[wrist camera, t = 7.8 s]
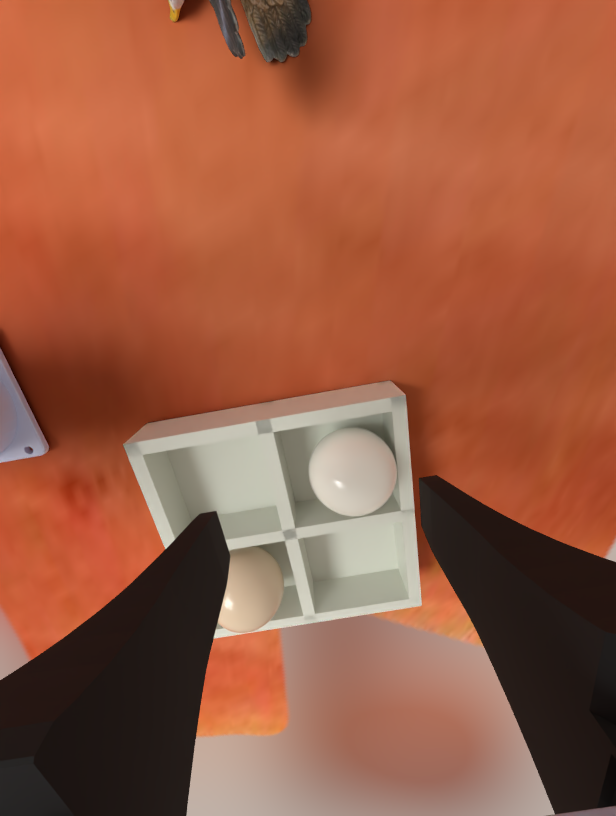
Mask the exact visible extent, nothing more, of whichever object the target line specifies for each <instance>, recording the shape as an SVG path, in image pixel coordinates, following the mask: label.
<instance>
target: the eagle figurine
mask: <svg viewBox="0 0 616 816" xmlns="http://www.w3.org/2000/svg"><path fill="white" fill-rule="evenodd" d="M209 1H210V3H211V5H212V6H213V8H214V10H215V13H216V16H217V19H218V22H219V25H220V28H221V31H222V34H223V36H224V38H225V41H226V43H227V45H228V47H229V49H230V51H231V53H232V54H233V55H234V56H235V57H239V58H241V59H242V58H243V57H244V56H245V50H244V46H243V43H242V40H241V37H240V35H239V33H238V31H239V26H238V22H237V18H236V15H235V13H234V11H233V8H232V6H231V0H209ZM168 2H169V5H170V19H171V20H172V21H173V22H176V21H177V20H178V18H179V13H180V9H181V6H182V5H183V3H184V0H168ZM241 3H242V5H243V8H244V11H245V13H246V16H247V19H248V22H249V26H250V28H251V30H252V32H253V34H254V37H255V40H256V43H257V45H258V48H259V50H260V51H261V53H262V55H263V57H264V59H265V60H266V62H271V61H272V60H273V58H275V59H277V60H278V61H279V62H284V61H285V59H286V57H287V54H288V55H290V56H291V57H297V56H298V55H299V50H300V49H299V48H300V47H301V46H305V44H306V42H307V32H306V25H307V24H309V23H310V21H311V11H310V7H309V4H308V2H307V0H241Z"/></svg>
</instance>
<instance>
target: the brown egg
mask: <svg viewBox="0 0 616 816" xmlns="http://www.w3.org/2000/svg"><path fill="white" fill-rule="evenodd" d="M229 553H230V565H229V573H228V581H227V587H226V591H225V595H224V599H223V603H222V607H221V611H220V615H219V619H218V624H219V625H221V626H222V627H223V628H225V629H227V630H229V631H232V632H236V633H247V632H252V631H255V630H257V629H259V628H261V627H262V626H264V625H265V624H267V623H268V622H269V621H270V620H271V619H272V618H273V616H274V615H275V613H276V612H277V610H278V608H279V606H280V604H281V601H282V598H283V593H284V578H283V573H282V570H281V567H280V565H279V563H278V562H277V560H276V559H275V558H274V557H273V556H272V555H271V554H270V553H269V552H268V551H266V550H264V549H262V548H260V547H256V546H251V547H245V548H239V549H233V550H230V551H229Z"/></svg>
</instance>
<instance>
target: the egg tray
mask: <svg viewBox="0 0 616 816" xmlns="http://www.w3.org/2000/svg"><path fill="white" fill-rule="evenodd" d="M345 427H358V428H363V429H366V430H369V431H371V432H373V433H375V434H376V435H378V436H379V437H380V438H381V439H383V440H384V441H385V443H386V444H387V445H388V446H389V448H390V449H391V451H392V453H393V455H394V458H395V461H396V467H397V479H396V484H395V487H394V490H393V492H392V494H391V496H390V498H389V499H388V500H387V501H386V503H385V504H384V505H382V506H381V507H380V508H379V509H377V510H376V511H374V512H372V513H369V514H366V515H362V516H346V515H341V514H338V513H336V512H334V511H332V510H330V509H329V508H327V507H326V506H325V505H324V504H323V503H322V502H321V501H320V500H319V499H318V498H317V496H316V495H315V493H314V491H313V489H312V487H311V484H310V480H309V461H310V458H311V455H312V452H313V450H314V448H315V447H316V445H317V444H318V443H319V441H320V440H321V439H322V438H324V437H325V436H326V435H327V434H329V433H331V432H333V431H335V430H338V429H341V428H345ZM123 446H124V449H125V451H126V453H127V456H128V458H129V461H130V463H131V466H132V468H133V471H134V473H135V476H136V478H137V480H138V483H139V485H140V488H141V490H142V493H143V495H144V498H145V500H146V502H147V505H148V507H149V510H150V512H151V515H152V517H153V520H154V522H155V525H156V527H157V529H158V532H159V534H160V537H161V539H162V542H163V544H164V547H165V549H166V548H167V547H168V546H169V545H170V544H171V543H172V542H173V541H174V540H175V539H176V538H177V537H178V536H179V535H180V533H181V532H182V531H183V530H184V529H185V528H186V527H187V526H188V525H189V524H190V523H191V522H192V521H193V520H194V519H195V518H196V517H197V516H198V515H199V514H200V513H206V512H212V511H217V514H218V517H219V521H220V524H221V527H222V530H223V534H224V537H225V540H226V543H227V546H228V550H229V551H230V550H233V549H239V548H245V547H251V546H256V547H260V548H262V549H264V550H266V551H268V552H269V553H270V554H271V555H272V556H273V557H274V558H275V559H276V560H277V562H278V563H279V565H280V567H281V570H282V573H283V578H284V593H283V598H282V601H281V604H280V606H279V608H278V610H277V612H276V613H275V615H274V616H273V618H272V619H271V620H270V621H269V622H268V623H267V624H265V625H264V626H262V627H261V628H259V629H257V630H255V631H252V632H258V631H264V630H271V629H277V628H283V627H290V626H296V625H302V624H309V623H315V622H321V621H328V620H334V619H340V618H346V617H353V616H359V615H366V614H372V613H379V612H385V611H391V610H398V609H404V608H410V607H417V606H422V602H421V589H420V576H419V563H418V549H417V536H416V523H415V510H414V497H413V483H412V470H411V457H410V444H409V430H408V417H407V404H406V395H405V394H404V393H403V392H402V391H401V390H400V389H399V388H398V387H397V386H396V385H395V384H394V383H393V382H392V381H391V380H389V381H384V382H378V383H372V384H367V385H361V386H355V387H350V388H344V389H338V390H333V391H327V392H321V393H316V394H310V395H304V396H299V397H293V398H287V399H282V400H276V401H270V402H265V403H259V404H253V405H248V406H242V407H236V408H231V409H225V410H219V411H214V412H208V413H202V414H197V415H191V416H185V417H180V418H174V419H168V420H163V421H157V422H151V423H146V424H145V425H144V426H143V427H142V428H141V429H140V430H139V431H137V432H136V433H135V434H134V435H133V436H132V437H131V438H130V439H128V440H127V441H126V442H125V443H124V444H123ZM252 632H247V633H252ZM239 634H245V633H236V632H232V631H229V630H227V629H225V628H223V627H222V626H221V625H219V624H218V623H217V627H216V631H215V635H214V638H220V637H226V636H232V635H239Z"/></svg>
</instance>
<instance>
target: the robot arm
mask: <svg viewBox="0 0 616 816" xmlns="http://www.w3.org/2000/svg"><path fill="white" fill-rule="evenodd" d="M29 447H31V448H32V449H33V451H32V450H31V449H30V448H29ZM48 450H49V446H48V443H47V441H46V439H45V437H44V435H43V433H42V431H41V429H40V427H39V425H38V423H37V421H36V419H35V417H34V415H33V413H32V411H31V409H30V407H29V405H28V403H27V401H26V399H25V397H24V395H23V393H22V391H21V389H20V387H19V385H18V383H17V381H16V379H15V377H14V375H13V373H12V371H11V369H10V367H9V365H8V362H7V360H6V358H5V356H4V354H3V352H2V350H1V348H0V463H2V462H7V461H13V460H19V459H24V458H30V457H36V456H41V455H44V454H45V453H47V452H48ZM419 490H420V508H421V526H422V528H423V531H424V533H425V536H426V538H427V540H428V543H429V545H430V547H431V550H432V552H433V554H434V556H435V557H436V559H437V561H438V563H439V565H440V566H441V568H442V570H443V572H444V573H445V575H446V577H447V579H448V580H449V582H450V584H451V586H452V587H453V589H454V591H455V593H456V594H457V596H458V598H459V600H460V601H461V603H462V605H463V606H464V608H465V610H466V612H467V613H468V615H469V617H470V619H471V621H472V623H473V625H474V627H475V629H476V631H477V633H478V635H479V637H480V639H481V641H482V643H483V646H484V648H485V650H486V652H487V654H488V656H489V659H490V661H491V663H492V665H493V667H494V670H495V672H496V674H497V676H498V679H499V681H500V683H501V685H502V688H503V690H504V692H505V695H506V697H507V699H508V701H509V703H510V706H511V708H512V710H513V713H514V715H515V718H516V720H517V722H518V725H519V727H520V729H521V732H522V734H523V737H524V739H525V741H526V743H527V746H528V748H529V751H530V753H531V755H532V758H533V761H534V763H535V765H536V768H537V770H538V773H539V775H540V778H541V780H542V783H543V785H544V788H545V790H546V793H547V795H548V798H549V800H550V803H551V805H552V808H553V810H554V813H555V815H548V816H616V562H614V561H611V560H608V559H605V558H602V557H599V556H596V555H593V554H591V553H588V552H585V551H583V550H580V549H577V548H575V547H572V546H569V545H567V544H564V543H562V542H559V541H557V540H555V539H552V538H550V537H548V536H546V535H543V534H541V533H539V532H537V531H534V530H532V529H530V528H528V527H526V526H524V525H522V524H520V523H518V522H516V521H514V520H512V519H510V518H508V517H506V516H504V515H502V514H500V513H498V512H497V511H495V510H493V509H491V508H489V507H488V506H486V505H484V504H483V503H481V502H479V501H477V500H476V499H474V498H472V497H471V496H469V495H467V494H466V493H464V492H463V491H461V490H459V489H458V488H456V487H455V486H453V485H451V484H450V483H448V482H447V481H445V480H443V479H442V478H440V477H438V476H437V475H435V476H429V477H423V478H419ZM229 565H230V553H229V550H228V546H227V543H226V540H225V537H224V534H223V530H222V527H221V524H220V521H219V517H218V514H217V511H212V512H206V513H200V514H199V515H198V516H197V517H196V518H195V519H194V520H193V521H192V522H191V523H190V524H189V525H188V526H187V527H186V528H185V529H184V530H183V531H182V532H181V533H180V535H179V536H178V537H177V538H176V539H175V540H174V541H173V542H172V543H171V544H170V545H169V546H168V547H167V548H166V549H165V550H164V552H163V553H162V554H161V555H160V556H159V557H158V558H157V559H156V560H155V561H154V562H153V563H152V564H151V565H150V566H149V567H148V568H147V569H146V570H144V571H143V572H142V573H141V574H140V575H139V576H138V577H137V578H136V579H135V580H134V581H133V582H132V583H131V584H130V585H129V586H128V587H127V588H125V589H124V590H123V591H122V592H121V593H120V594H119V595H118V596H116V597H115V598H114V599H113V600H112V601H110V602H109V603H108V604H107V605H106V606H105V607H103V608H102V609H101V610H100V611H98V612H97V613H96V614H95V615H93V616H92V617H91V618H89V619H88V620H87V621H85V622H84V623H83V624H81V625H80V626H79V627H77V628H76V629H75V630H74V631H72V632H71V633H70V634H68V635H67V636H66V637H64V638H63V639H62V640H60V641H59V642H57V643H56V644H54V645H53V646H52V647H50V648H49V649H47V650H46V651H44V652H43V653H41V654H40V655H39V656H37V657H36V658H34V659H33V660H31V661H29V662H28V663H27V664H25V665H23V666H22V667H20V668H19V669H17V670H16V671H14V672H13V673H11V674H10V675H8V676H7V677H5V678H3V679H2V680H0V816H186V813H187V803H188V795H189V787H190V778H191V770H192V762H193V753H194V746H195V739H196V732H197V725H198V718H199V711H200V705H201V698H202V692H203V686H204V680H205V673H206V668H207V664H208V659H209V654H210V650H211V646H212V643H213V639H214V635H215V631H216V627H217V623H218V619H219V615H220V611H221V607H222V603H223V599H224V595H225V591H226V587H227V581H228V573H229Z"/></svg>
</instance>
